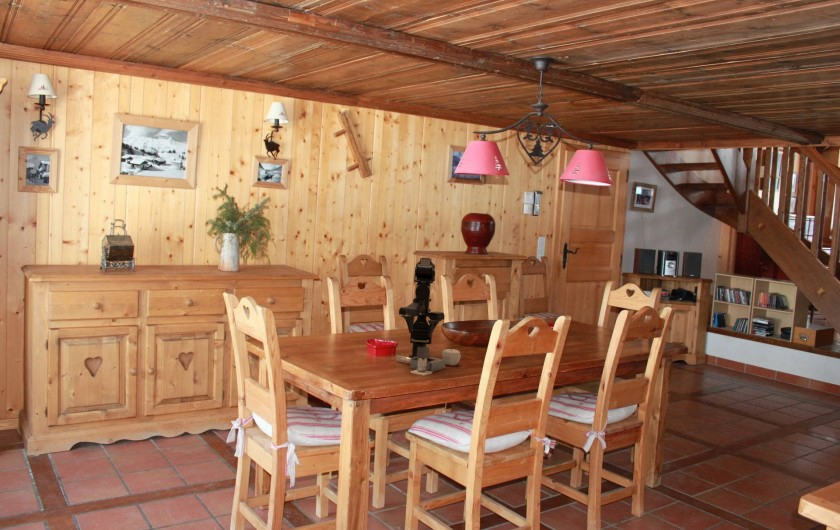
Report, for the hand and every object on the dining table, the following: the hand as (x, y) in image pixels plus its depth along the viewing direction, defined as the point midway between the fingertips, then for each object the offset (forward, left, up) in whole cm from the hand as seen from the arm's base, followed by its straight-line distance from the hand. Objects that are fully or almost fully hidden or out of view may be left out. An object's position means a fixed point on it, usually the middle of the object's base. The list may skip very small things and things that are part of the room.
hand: (420, 334), depth 286 cm
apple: (-14, +7, -13) cm, 20 cm away
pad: (+8, +7, -13) cm, 17 cm away
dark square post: (+8, +7, -12) cm, 16 cm away
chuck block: (-1, -1, -13) cm, 13 cm away
